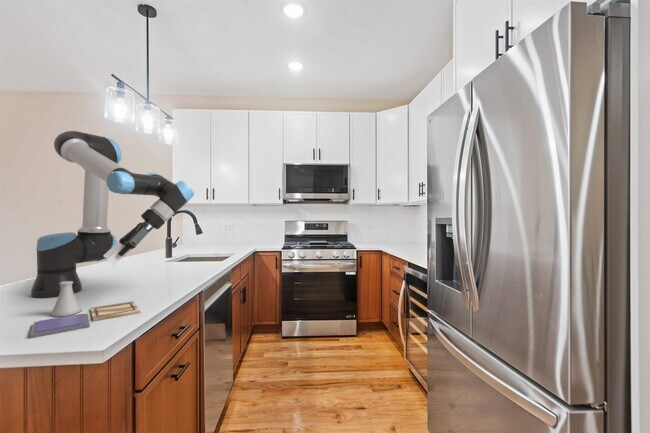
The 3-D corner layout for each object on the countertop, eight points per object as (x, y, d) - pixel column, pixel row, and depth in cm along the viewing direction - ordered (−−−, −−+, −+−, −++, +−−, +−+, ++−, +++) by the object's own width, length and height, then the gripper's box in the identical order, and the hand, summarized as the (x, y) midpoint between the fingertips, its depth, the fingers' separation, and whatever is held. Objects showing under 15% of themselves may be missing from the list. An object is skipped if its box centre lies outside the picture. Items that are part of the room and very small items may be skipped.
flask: (64, 318, 93) (63, 285, 93) (44, 316, 94) (44, 284, 94) (87, 310, 100) (86, 280, 100) (68, 309, 101) (68, 279, 101)
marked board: (90, 309, 101) (90, 307, 101) (133, 302, 109) (133, 300, 109) (93, 321, 90) (93, 319, 90) (140, 312, 98) (140, 310, 98)
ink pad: (34, 324, 87) (34, 320, 87) (87, 315, 95) (87, 312, 95) (29, 338, 78) (29, 333, 78) (89, 327, 86) (89, 322, 86)
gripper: (174, 222, 105) (122, 272, 96) (158, 221, 124) (113, 263, 115) (156, 207, 102) (101, 257, 92) (142, 208, 121) (95, 250, 111)
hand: (108, 260), depth 104 cm, fingers open, 13 cm apart
